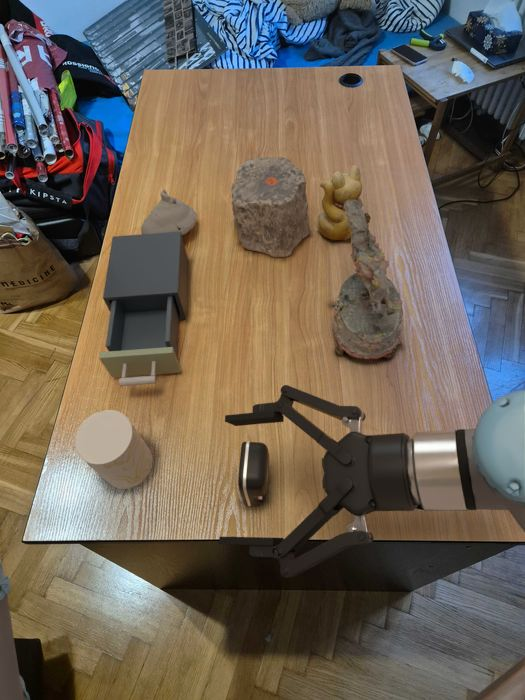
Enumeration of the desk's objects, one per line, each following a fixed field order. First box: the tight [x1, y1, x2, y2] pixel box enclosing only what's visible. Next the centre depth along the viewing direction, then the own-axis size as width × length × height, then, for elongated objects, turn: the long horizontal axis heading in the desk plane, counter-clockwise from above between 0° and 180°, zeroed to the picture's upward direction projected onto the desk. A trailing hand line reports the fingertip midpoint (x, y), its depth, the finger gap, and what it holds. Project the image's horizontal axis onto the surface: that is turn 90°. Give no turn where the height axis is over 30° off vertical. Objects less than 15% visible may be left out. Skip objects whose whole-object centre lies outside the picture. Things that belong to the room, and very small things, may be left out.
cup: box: [74, 409, 154, 490], centre depth 71 cm, size 8×8×12 cm
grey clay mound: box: [140, 188, 198, 236], centre depth 101 cm, size 12×12×11 cm
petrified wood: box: [231, 156, 311, 258], centre depth 98 cm, size 19×17×15 cm
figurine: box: [331, 200, 404, 360], centre depth 79 cm, size 20×13×25 cm, turn 177°
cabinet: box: [102, 231, 189, 322], centre depth 92 cm, size 16×14×9 cm
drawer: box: [99, 295, 182, 387], centre depth 84 cm, size 19×12×7 cm, turn 3°
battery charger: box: [237, 440, 270, 507], centre depth 69 cm, size 7×4×11 cm, turn 176°
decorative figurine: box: [316, 164, 363, 243], centre depth 96 cm, size 10×8×15 cm
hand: (227, 477), depth 55 cm, fingers open, 13 cm apart
